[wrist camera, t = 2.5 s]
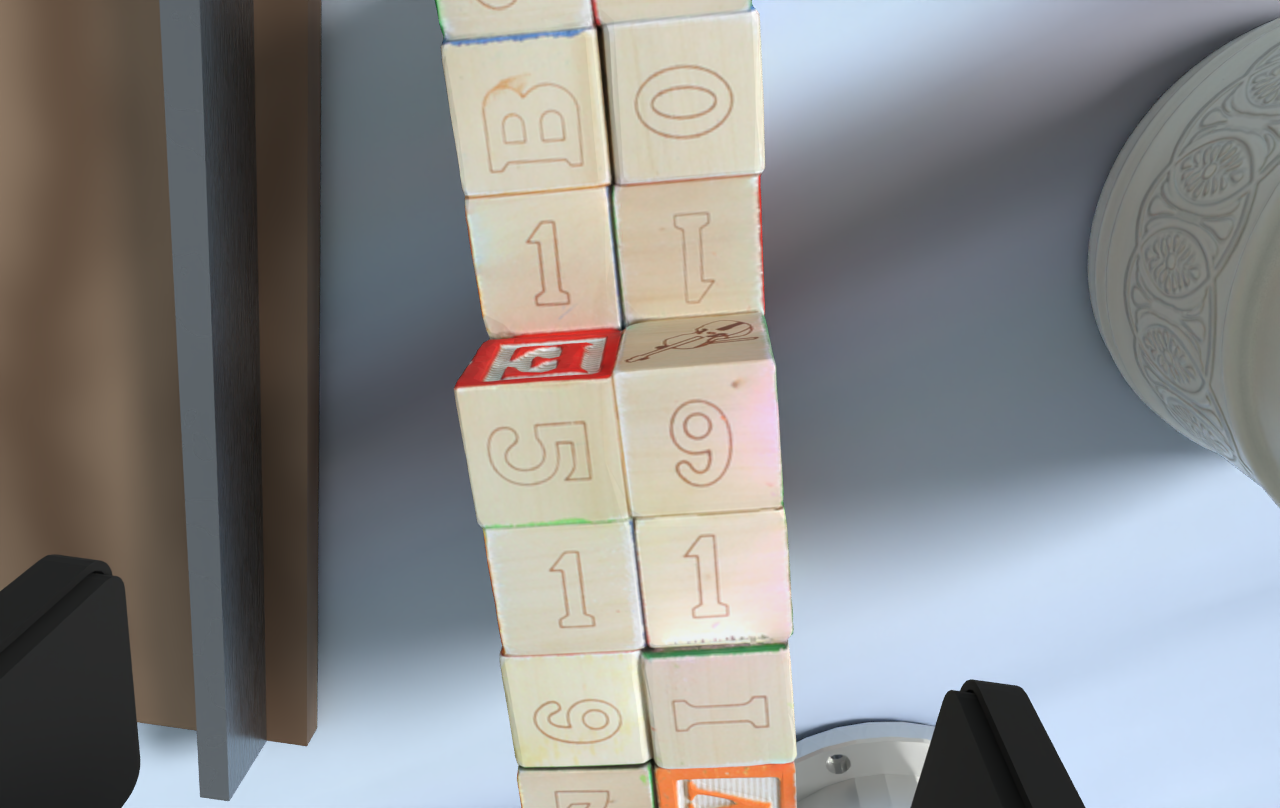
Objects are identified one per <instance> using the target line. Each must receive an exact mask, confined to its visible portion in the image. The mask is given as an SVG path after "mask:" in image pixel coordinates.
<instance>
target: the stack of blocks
mask: <svg viewBox="0 0 1280 808" xmlns="http://www.w3.org/2000/svg"><path fill="white" fill-rule="evenodd" d="M435 4H436V8H437V13H438V19H439V24H440V27H441V30H442V33H443V42H442V45H441V54H442V64H443V70H444V76H445V82H446V88H447V95H448V101H449V108H450V114H451V121H452V127H453V133H454V139H455V145H456V151H457V157H458V163H459V170H460V178H461V184H462V189H463V192H464V195H465V216H466V222H467V226H468V235H469V241H470V247H471V253H472V259H473V265H474V270H475V275H476V281H477V287H478V293H479V299H480V305H481V311H482V316H483V320H484V324H485V327H486V331H487V333H488V335H489V336H490V339H489V340H488V341H486V342H484V343H483V344H482V345H481V347H480V348H479V349H478V350H477V353H476V355H475V356H474V358H473V359H472V361H471V362H470V363H469V364H468V366H467V368H466V369H465V371H464V372H463V374H462V375H461V377H460V378H459V379H458V381H457V383H456V385H455V387H454V394H455V400H456V406H457V412H458V417H459V422H460V428H461V433H462V439H463V444H464V450H465V455H466V460H467V466H468V472H469V478H470V484H471V489H472V495H473V501H474V506H475V512H476V518H477V522H478V524H479V525H480V526H481V527H482V529H483V533H484V540H485V548H486V556H487V563H488V568H489V574H490V580H491V585H492V591H493V596H494V600H495V607H496V614H497V620H498V626H499V632H500V637H501V642H502V648H501V651H500V666H501V672H502V679H503V685H504V691H505V697H506V703H507V708H508V714H509V720H510V726H511V733H512V739H513V745H514V751H515V758H516V760H517V763H518V773H517V782H518V788H519V794H520V801H521V808H797V796H796V769H795V763H794V760H795V758H796V756H797V749H796V734H795V719H794V704H793V689H792V675H791V661H790V651H789V643H788V638H789V637H790V636H791V635H792V634H793V630H794V629H793V609H792V600H791V582H790V564H789V548H788V533H787V522H786V515H785V509H784V503H783V495H784V492H783V475H782V460H781V444H780V426H779V409H778V394H777V378H776V363H775V360H774V356H773V352H772V347H771V342H770V338H769V333H768V328H767V323H766V320H765V317H764V315H765V299H764V269H763V243H762V213H761V188H760V176H761V174H762V172H763V170H764V169H765V144H764V105H763V81H762V58H761V36H760V15H759V13H758V11H757V10H756V9H755V8H754V7H753V5H752V0H435Z"/></svg>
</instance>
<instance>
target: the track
mask: <svg viewBox="0 0 1280 808" xmlns="http://www.w3.org/2000/svg"><path fill="white" fill-rule="evenodd" d="M320 144H321V0H0V591H1V590H2V589H4V588H5V587H6V586H7V585H9V584H10V583H11V582H12V581H14V580H15V579H16V578H17V577H19V576H20V575H21V574H22V573H24V572H25V571H26V570H27V569H29V568H30V567H31V566H32V565H34V564H35V563H36V562H37V561H39V560H40V559H42V558H43V557H45V556H47V555H53V554H57V555H64V556H71V557H79V558H86V559H93V560H101V561H103V562H105V563H107V564H108V565H109V567H110V568H111V571H112V575H113V576H118V577H120V578H121V579H122V581H123V582H124V586H125V593H126V605H127V616H128V627H129V639H130V650H131V661H132V672H133V684H134V695H135V706H136V718H137V722H140V723H147V724H154V725H161V726H168V727H175V728H182V729H189V730H196V731H197V745H198V764H199V784H200V797H203V798H210V799H217V800H224V801H230V799H231V798H232V796H233V794H234V793H235V791H236V789H237V788H238V786H239V785H240V783H241V781H242V780H243V778H244V777H245V775H246V773H247V772H248V770H249V769H250V767H251V765H252V764H253V762H254V761H255V759H256V757H257V756H258V754H259V752H260V751H261V749H262V748H263V746H264V744H265V743H266V741H274V742H281V743H288V744H295V745H302V746H307V745H308V743H309V742H310V740H311V738H312V736H313V734H314V733H315V731H316V729H317V662H318V489H319V316H320Z"/></svg>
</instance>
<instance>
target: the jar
mask: <svg viewBox="0 0 1280 808" xmlns="http://www.w3.org/2000/svg"><path fill="white" fill-rule="evenodd" d="M1087 272H1088V287H1089V294H1090V300H1091V305H1092V309H1093V313H1094V317H1095V320H1096V323H1097V326H1098V329H1099V332H1100V334H1101V336H1102V338H1103V341H1104V343H1105V345H1106V347H1107V348H1108V350H1109V352H1110V354H1111V356H1112V358H1113V360H1114V362H1115V364H1116V365H1117V367H1118V369H1119V371H1120V373H1121V374H1122V376H1123V377H1124V379H1125V380H1126V381H1127V383H1128V384H1129V386H1130V387H1131V389H1132V390H1133V391H1134V392H1135V393H1136V394H1137V396H1138V397H1139V398H1140V399H1141V400H1142V401H1143V402H1144V403H1145V404H1146V405H1147V406H1148V407H1149V408H1150V409H1151V410H1152V411H1153V412H1154V413H1156V414H1157V415H1158V416H1159V417H1160V418H1162V419H1163V420H1164V421H1165V422H1167V423H1168V424H1169V425H1170V426H1171V427H1173V428H1174V429H1175V430H1176V431H1178V432H1179V433H1181V434H1182V435H1184V436H1185V437H1187V438H1188V439H1190V440H1191V441H1193V442H1195V443H1197V444H1198V445H1200V446H1202V447H1204V448H1206V449H1208V450H1210V451H1213V452H1215V453H1217V454H1219V455H1220V456H1222V457H1223V458H1224V459H1226V460H1227V461H1228V462H1229V463H1231V464H1232V465H1233V466H1235V467H1236V468H1237V469H1239V470H1240V471H1241V472H1243V473H1244V474H1245V475H1246V476H1248V477H1249V478H1250V479H1252V480H1253V481H1254V482H1256V483H1257V484H1258V485H1260V486H1261V487H1262V488H1263V489H1264V490H1265V492H1266V493H1267V494H1268V495H1269V497H1270V498H1271V499H1272V500H1273V501H1274V503H1275V504H1276V505H1277V506H1278V507H1279V508H1280V18H1277V19H1275V20H1273V21H1271V22H1268V23H1266V24H1264V25H1261V26H1259V27H1257V28H1255V29H1253V30H1251V31H1249V32H1247V33H1245V34H1243V35H1241V36H1239V37H1237V38H1236V39H1234V40H1232V41H1230V42H1229V43H1227V44H1225V45H1224V46H1222V47H1221V48H1219V49H1218V50H1216V51H1214V52H1213V53H1211V54H1210V55H1209V56H1207V57H1206V58H1205V59H1203V60H1202V61H1201V62H1199V63H1198V64H1196V65H1195V66H1194V67H1193V68H1192V69H1190V70H1189V71H1188V72H1187V73H1186V74H1184V75H1183V76H1182V77H1181V78H1180V79H1179V80H1178V81H1177V82H1176V83H1175V84H1173V85H1172V86H1171V87H1170V88H1169V89H1168V90H1167V91H1166V92H1165V93H1164V94H1163V95H1162V96H1161V98H1160V99H1159V100H1158V101H1157V102H1156V103H1155V104H1154V105H1153V106H1152V107H1151V109H1150V110H1149V111H1148V112H1147V114H1146V115H1145V116H1144V117H1143V119H1142V120H1141V121H1140V122H1139V124H1138V125H1137V127H1136V128H1135V130H1134V131H1133V132H1132V134H1131V135H1130V137H1129V138H1128V140H1127V141H1126V143H1125V145H1124V146H1123V148H1122V150H1121V151H1120V153H1119V155H1118V157H1117V159H1116V160H1115V162H1114V164H1113V166H1112V168H1111V170H1110V172H1109V175H1108V177H1107V179H1106V182H1105V184H1104V186H1103V189H1102V192H1101V195H1100V198H1099V201H1098V203H1097V207H1096V211H1095V214H1094V218H1093V222H1092V227H1091V233H1090V238H1089V248H1088V270H1087Z"/></svg>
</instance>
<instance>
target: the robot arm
mask: <svg viewBox="0 0 1280 808" xmlns="http://www.w3.org/2000/svg"><path fill="white" fill-rule="evenodd" d="M796 749H797V756H796V758H795V760H794V763H795V769H796V796H797V808H1085V806H1084V804H1083V802H1082V800H1081V798H1080V796H1079V794H1078V792H1077V790H1076V789H1075V787H1074V785H1073V783H1072V781H1071V779H1070V777H1069V775H1068V773H1067V771H1066V769H1065V767H1064V765H1063V763H1062V761H1061V760H1060V758H1059V756H1058V754H1057V752H1056V750H1055V748H1054V746H1053V744H1052V742H1051V740H1050V738H1049V736H1048V734H1047V732H1046V730H1045V729H1044V727H1043V725H1042V723H1041V721H1040V719H1039V717H1038V715H1037V713H1036V711H1035V709H1034V707H1033V705H1032V703H1031V701H1030V699H1029V698H1028V696H1027V694H1026V693H1025V691H1024V690H1023V688H1021V687H1019V686H1015V685H1008V684H1000V683H993V682H986V681H978V680H968V681H966V682H965V683H964V684H963V686H962V688H961V690H960V691H954V690H950V691H948V692H947V694H946V695H945V697H944V700H943V703H942V706H941V709H940V712H939V716H938V719H937V722H936V726H929V725H922V724H915V723H908V722H867V723H861V724H855V725H849V726H843V727H837V728H834V729H831V730H828V731H825V732H822V733H819V734H816V735H813V736H810V737H807V738H804V739H802V740H800V741H798V742H797V743H796ZM139 770H140V751H139V740H138V729H137V718H136V706H135V695H134V684H133V672H132V661H131V650H130V639H129V627H128V616H127V605H126V593H125V586H124V582H123V581H122V579H121V578H120V577H118V576H113V575H112V571H111V568H110V567H109V565H108V564H107V563H105V562H103V561H101V560H93V559H86V558H79V557H71V556H64V555H57V554H53V555H47V556H45V557H43V558H42V559H40V560H39V561H37V562H36V563H35V564H34V565H32V566H31V567H30V568H29V569H27V570H26V571H25V572H24V573H22V574H21V575H20V576H19V577H17V578H16V579H15V580H14V581H12V582H11V583H10V584H9V585H7V586H6V587H5V588H4V589H2V590H1V591H0V808H121V807H122V806H123V805H124V803H125V802H126V801H127V799H128V798H129V796H130V795H131V793H132V791H133V789H134V787H135V785H136V782H137V779H138V775H139Z"/></svg>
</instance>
